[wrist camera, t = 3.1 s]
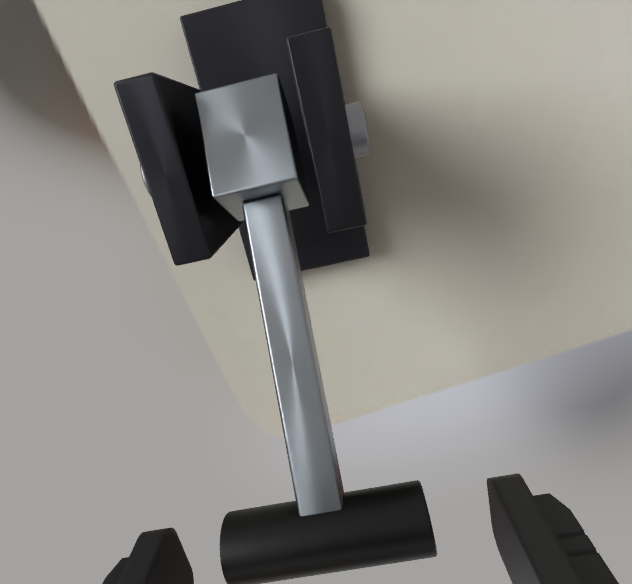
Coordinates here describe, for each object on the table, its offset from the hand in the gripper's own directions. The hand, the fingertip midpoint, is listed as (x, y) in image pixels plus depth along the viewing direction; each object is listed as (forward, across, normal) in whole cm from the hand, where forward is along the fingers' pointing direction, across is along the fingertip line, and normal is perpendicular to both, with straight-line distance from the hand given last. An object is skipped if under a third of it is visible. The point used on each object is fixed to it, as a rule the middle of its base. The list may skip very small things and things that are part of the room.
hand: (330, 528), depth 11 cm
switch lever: (+3, 0, -4) cm, 5 cm away
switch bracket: (+14, 0, -9) cm, 17 cm away
